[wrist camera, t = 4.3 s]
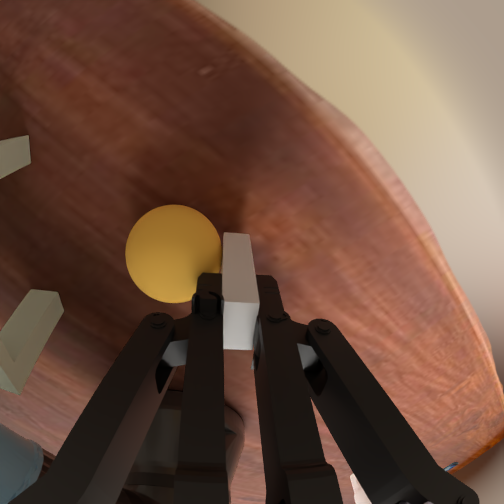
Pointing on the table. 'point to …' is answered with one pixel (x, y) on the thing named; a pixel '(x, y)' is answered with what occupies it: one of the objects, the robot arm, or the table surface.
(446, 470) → the smartphone
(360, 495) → the mug
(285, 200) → the table surface
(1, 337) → the bridge
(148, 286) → the ball
